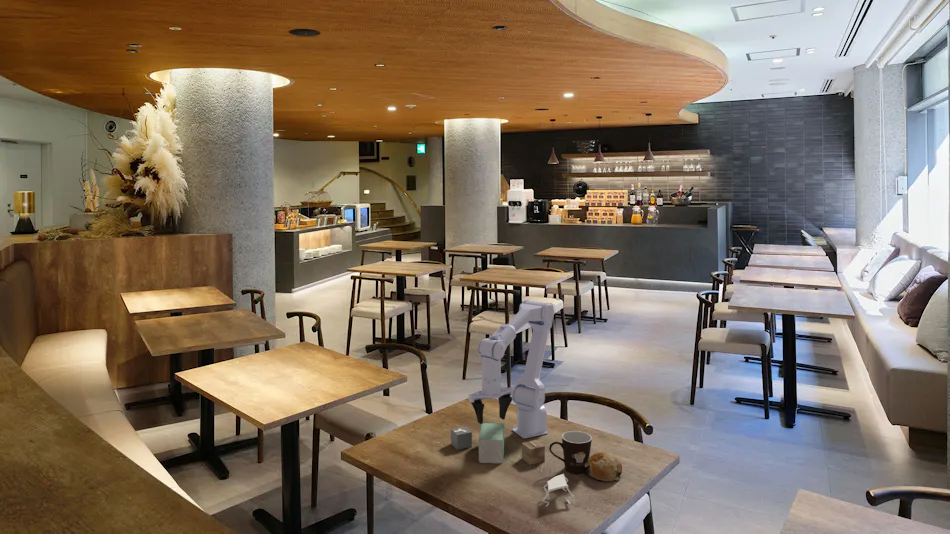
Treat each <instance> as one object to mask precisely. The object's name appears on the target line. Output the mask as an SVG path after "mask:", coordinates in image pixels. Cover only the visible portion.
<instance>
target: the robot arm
mask: <svg viewBox="0 0 950 534" xmlns="http://www.w3.org/2000/svg"><path fill="white" fill-rule="evenodd" d="M554 315H555V310H554V307H553V304H552V303H550V302H542V301H537V300H536V301H535V300H530V299H524V300H523V301H522V302H521V303H520V304H519V308H518V312H517V313H516V314H515V315H514V317H513V318H512V319H511V320H510V321H509V322H508V323H506V324H505V323H504V324H501V325H500V326H499V327H498V329H497V330H495V331H494V332H493V333H492V334H491V335H490V336H489V337H487V338H484V339H481V341H480V342H479V343H478V347H477V354H478V356H479V361H480V363H481V390H479V391H477V392H474V393H473V392H472V393H469V394H468V402H470V405H472V408H473V410H474V412H475V415H476V416H475V417H476V421H477V423H478V424H479V425H481V424H483V423H484V422H483V421H484V415H483V414H484V409H485V404H484V402H483V400H489V399H498V406H499V410H498V412H499V413H498V414H499V416H498V417H499V418H500V419H501V420H505V419H506V417H507V416H506V415H507V412H508V409H509V406H510V405H511V403H512V402H513V403H514V406H515V407H517V410H516V411H517V412H516V414H517V415H516V420H517V421H516V423H517V424H516V427H514V428H512V429H511V431H513V432H514V433H515V434H517V435H518V436H519V437H521V438H522V439H528V438H534V437H537V436H543V435H546V434H547V435H548V433H549V432H548V431H547V430H548V414H547V413H548V412H547V409H546V407H545V406H544V404H545V400H546V396H545V395H546V394H545V392H546V386H545V385H544V383H543V382H542V381H541V380H540V378H541V371H542V367H543V361H544V356H545V353H546V348H547V347H546V346H547V341H548V338H549V337H548V336H549V333H550V329H552V326H553V321H554V318H555V317H554ZM526 324H528V325H529V326H530V327H531V329H532V333H531V336H530V337H531V338H530V342H529V348H528V353H527V358H526V362H525V368H524V372H523V376H522V377H520V378H519V379H517V380H516V381H515V382H516V383H515V386H514V388H513V387H502V386H501V385H502V384H501V383H502V381H501V380H502V379H501V378H502V377H501V371H502V370H501V368H502V366H501V364H502V361H501V360H502V359H503V358H504V356H505V352H506V350H507V347H508V346H509V345H510V344H511V343H512V342H513V341H514V340H515V339H516V337H517V332H518V331H519V330H521V328H522V327H524V326H526Z"/></svg>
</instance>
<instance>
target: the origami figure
mask: <svg viewBox="0 0 950 534" xmlns="http://www.w3.org/2000/svg"><path fill="white" fill-rule="evenodd" d="M568 482H569V479H568V478H567V477H566V476H565V473H562V474H559V475H556V476H554V477H552V478H551V479H549V480H548V481H546V483H545V485H544V486H543V490H544V492H545V496H544V497H543V498H542V499H541V502H544V503H545V504H546V503H547V504H546V505H545V507H548V506H549V505H550V502H549V501H546V499H548V498H549V497H550V495H549V493H550V492H553V491H556V490H560V489H562V490H563V491H564V492H567V491H568V493H569V494H570V495H569V496H567V497H565V500H566V502H567V503H568V504H569V505H571V501H569V500H570V499H573V498H575V496H574V494H573V493H572V492H571V490H570V488H569V485H568V484H567V483H568ZM546 487H547V488H546Z"/></svg>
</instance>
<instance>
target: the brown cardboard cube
mask: <svg viewBox="0 0 950 534" xmlns="http://www.w3.org/2000/svg"><path fill="white" fill-rule="evenodd" d="M545 456H546V446H545V444H543V443H541V442H539V440H537V439H533V440H529V441H525V442H521V459H522V460H523V461H524V460H525V461H524V462H525V463H527V464H528V463H529V464H528V465H530V466H532V465H531V464H533V465H537V464H541V463H545V461H546V459H545V458H546V457H545ZM536 463H537V464H536Z"/></svg>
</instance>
